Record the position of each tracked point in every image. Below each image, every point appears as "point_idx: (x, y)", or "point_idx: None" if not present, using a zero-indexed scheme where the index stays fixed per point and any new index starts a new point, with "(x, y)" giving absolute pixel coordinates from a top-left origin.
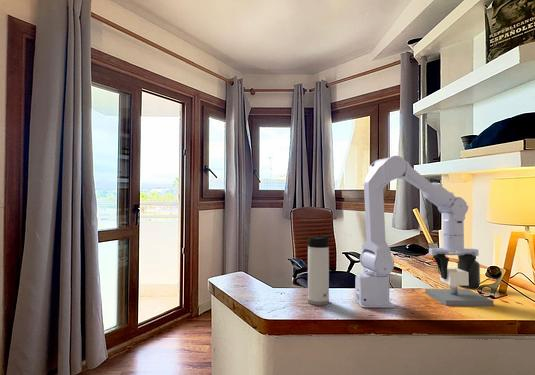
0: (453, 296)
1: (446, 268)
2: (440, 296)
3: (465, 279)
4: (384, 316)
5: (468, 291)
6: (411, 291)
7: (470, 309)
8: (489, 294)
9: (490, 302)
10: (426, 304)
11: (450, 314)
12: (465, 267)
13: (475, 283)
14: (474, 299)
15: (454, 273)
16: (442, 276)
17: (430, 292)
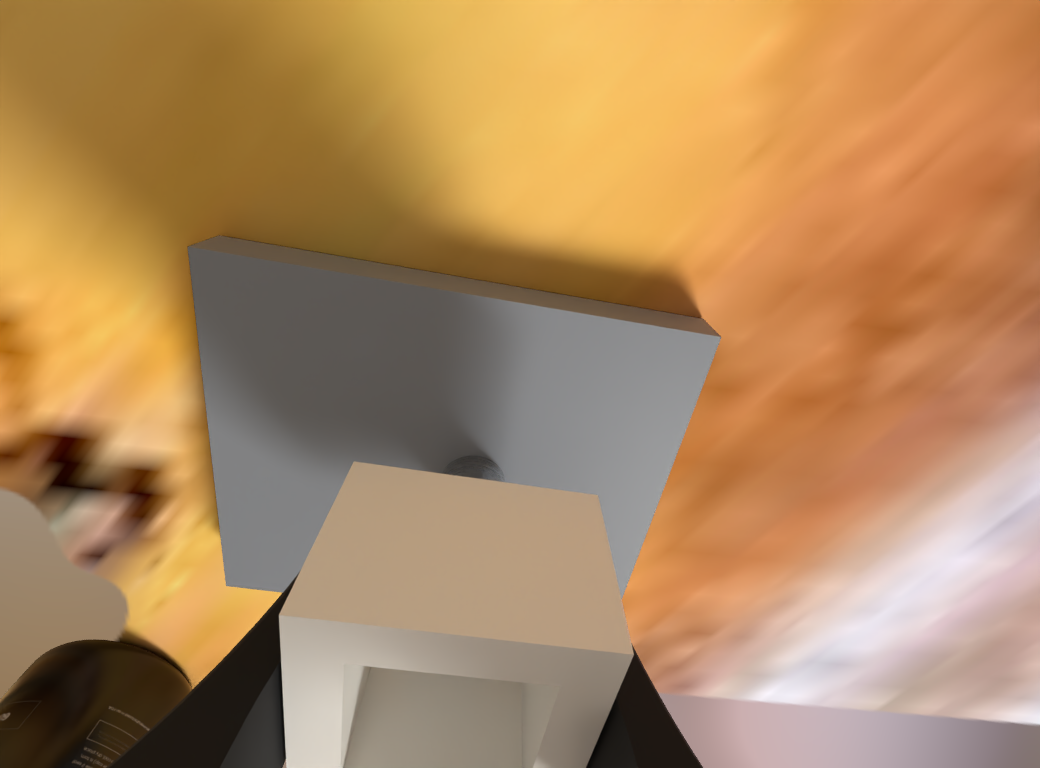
0: (532, 429)
1: (648, 755)
2: (664, 445)
3: (374, 524)
4: None
5: (261, 536)
6: (670, 644)
7: (551, 173)
8: (50, 523)
9: (231, 249)
10: (850, 371)
11: (913, 53)
12: (239, 755)
13: (62, 679)
14: (382, 316)
15: (552, 622)
16: None
17: (633, 561)
